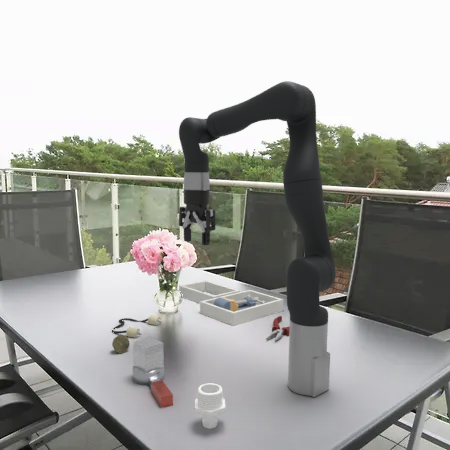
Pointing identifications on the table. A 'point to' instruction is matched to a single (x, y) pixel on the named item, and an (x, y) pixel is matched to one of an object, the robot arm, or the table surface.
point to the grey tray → (197, 290)
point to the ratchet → (154, 385)
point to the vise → (237, 303)
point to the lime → (120, 343)
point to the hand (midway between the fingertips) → (196, 243)
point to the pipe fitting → (210, 404)
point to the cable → (134, 331)
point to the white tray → (243, 315)
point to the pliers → (278, 329)
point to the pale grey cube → (148, 354)
